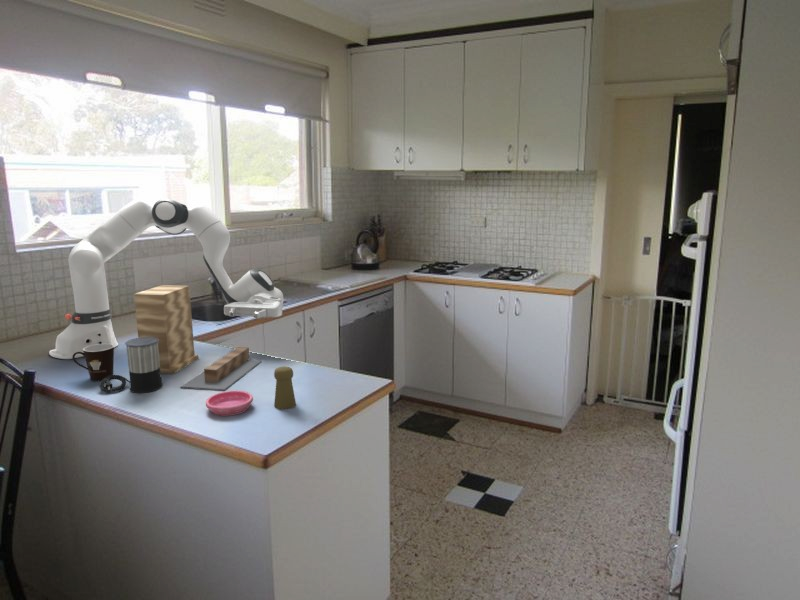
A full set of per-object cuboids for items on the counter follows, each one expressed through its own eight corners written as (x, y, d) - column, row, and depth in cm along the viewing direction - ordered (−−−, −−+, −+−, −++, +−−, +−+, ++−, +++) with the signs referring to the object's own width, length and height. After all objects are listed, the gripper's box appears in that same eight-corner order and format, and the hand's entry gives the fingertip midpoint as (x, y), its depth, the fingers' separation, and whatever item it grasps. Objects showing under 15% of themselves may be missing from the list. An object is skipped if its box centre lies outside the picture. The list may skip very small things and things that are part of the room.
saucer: (200, 418, 150) (199, 407, 149) (213, 400, 162) (212, 390, 161) (248, 418, 150) (247, 407, 150) (257, 400, 163) (256, 389, 162)
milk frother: (168, 388, 172) (164, 340, 169) (113, 402, 161) (107, 352, 158) (148, 376, 181) (144, 332, 178) (95, 389, 170) (90, 342, 167)
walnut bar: (217, 382, 175) (216, 369, 174) (204, 381, 176) (204, 369, 175) (249, 358, 198) (248, 347, 197) (238, 357, 199) (237, 347, 198)
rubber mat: (224, 390, 169) (224, 389, 169) (180, 388, 171) (180, 386, 171) (261, 361, 196) (261, 360, 196) (223, 359, 198) (223, 358, 198)
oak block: (174, 373, 184) (167, 295, 179) (137, 371, 186) (129, 293, 181) (198, 358, 200) (193, 285, 194) (164, 356, 202) (158, 284, 196)
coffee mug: (123, 375, 183) (120, 345, 181) (101, 383, 175) (98, 352, 173) (95, 371, 187) (91, 341, 185) (72, 379, 179) (69, 349, 177)
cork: (275, 401, 161) (273, 364, 159) (297, 400, 162) (295, 363, 159) (272, 409, 155) (270, 371, 153) (294, 409, 156) (293, 371, 154)
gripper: (232, 296, 211) (215, 304, 198) (285, 298, 208) (270, 306, 195) (234, 313, 213) (216, 322, 199) (286, 315, 209) (271, 324, 196)
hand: (243, 314), depth 197 cm, fingers open, 8 cm apart
